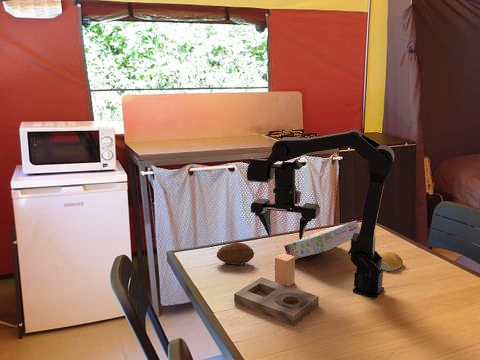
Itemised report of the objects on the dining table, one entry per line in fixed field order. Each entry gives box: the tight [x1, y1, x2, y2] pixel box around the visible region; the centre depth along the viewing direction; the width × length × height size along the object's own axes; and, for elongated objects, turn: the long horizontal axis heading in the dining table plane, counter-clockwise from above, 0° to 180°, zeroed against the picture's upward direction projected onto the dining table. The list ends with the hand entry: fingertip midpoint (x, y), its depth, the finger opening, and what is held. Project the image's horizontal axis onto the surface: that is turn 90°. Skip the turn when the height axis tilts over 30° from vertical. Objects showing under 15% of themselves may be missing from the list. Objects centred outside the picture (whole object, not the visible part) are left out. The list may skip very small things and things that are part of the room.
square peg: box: [274, 252, 296, 287], centre depth 126 cm, size 4×4×8 cm
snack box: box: [283, 220, 361, 260], centre depth 143 cm, size 21×6×15 cm
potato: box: [216, 241, 255, 265], centre depth 139 cm, size 7×12×7 cm, turn 95°
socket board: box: [233, 276, 320, 327], centre depth 116 cm, size 18×12×2 cm, turn 51°
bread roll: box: [378, 251, 404, 272], centre depth 138 cm, size 8×9×4 cm
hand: (284, 237), depth 128 cm, fingers open, 9 cm apart
